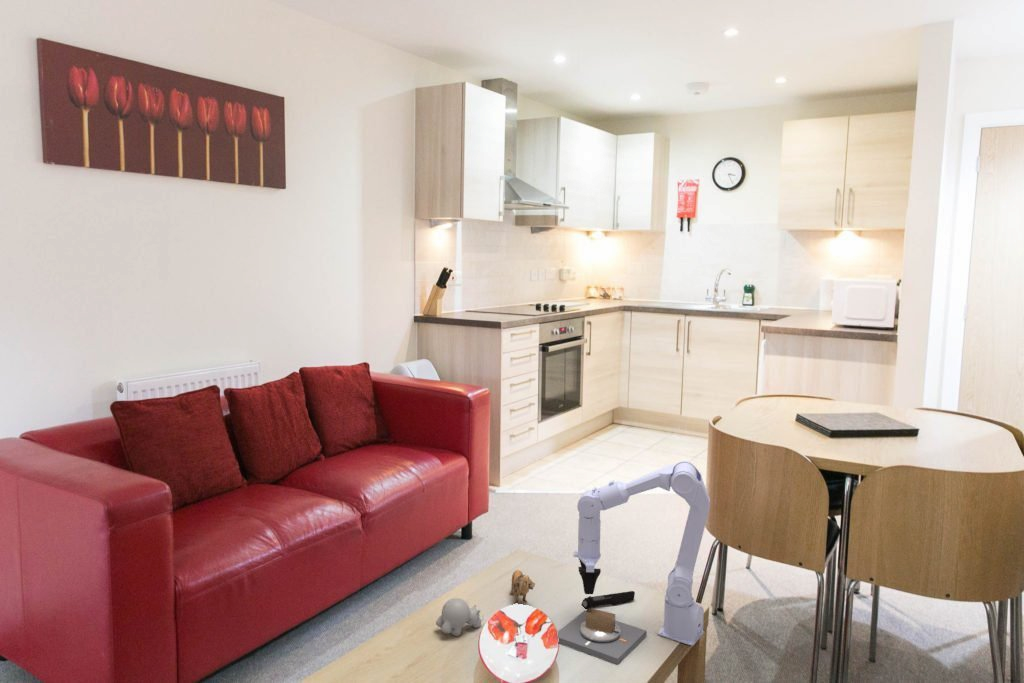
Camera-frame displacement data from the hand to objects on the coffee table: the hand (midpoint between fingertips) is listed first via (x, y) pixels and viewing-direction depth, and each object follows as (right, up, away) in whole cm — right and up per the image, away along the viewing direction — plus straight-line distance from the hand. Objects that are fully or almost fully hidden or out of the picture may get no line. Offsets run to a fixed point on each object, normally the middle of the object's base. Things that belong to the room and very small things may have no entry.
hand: (588, 586), depth 191 cm
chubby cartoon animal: (-33, -10, -4) cm, 35 cm away
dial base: (+2, -10, -8) cm, 13 cm away
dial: (+2, -9, -8) cm, 12 cm away
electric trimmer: (+7, -9, +11) cm, 15 cm away
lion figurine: (-18, -8, +13) cm, 24 cm away
